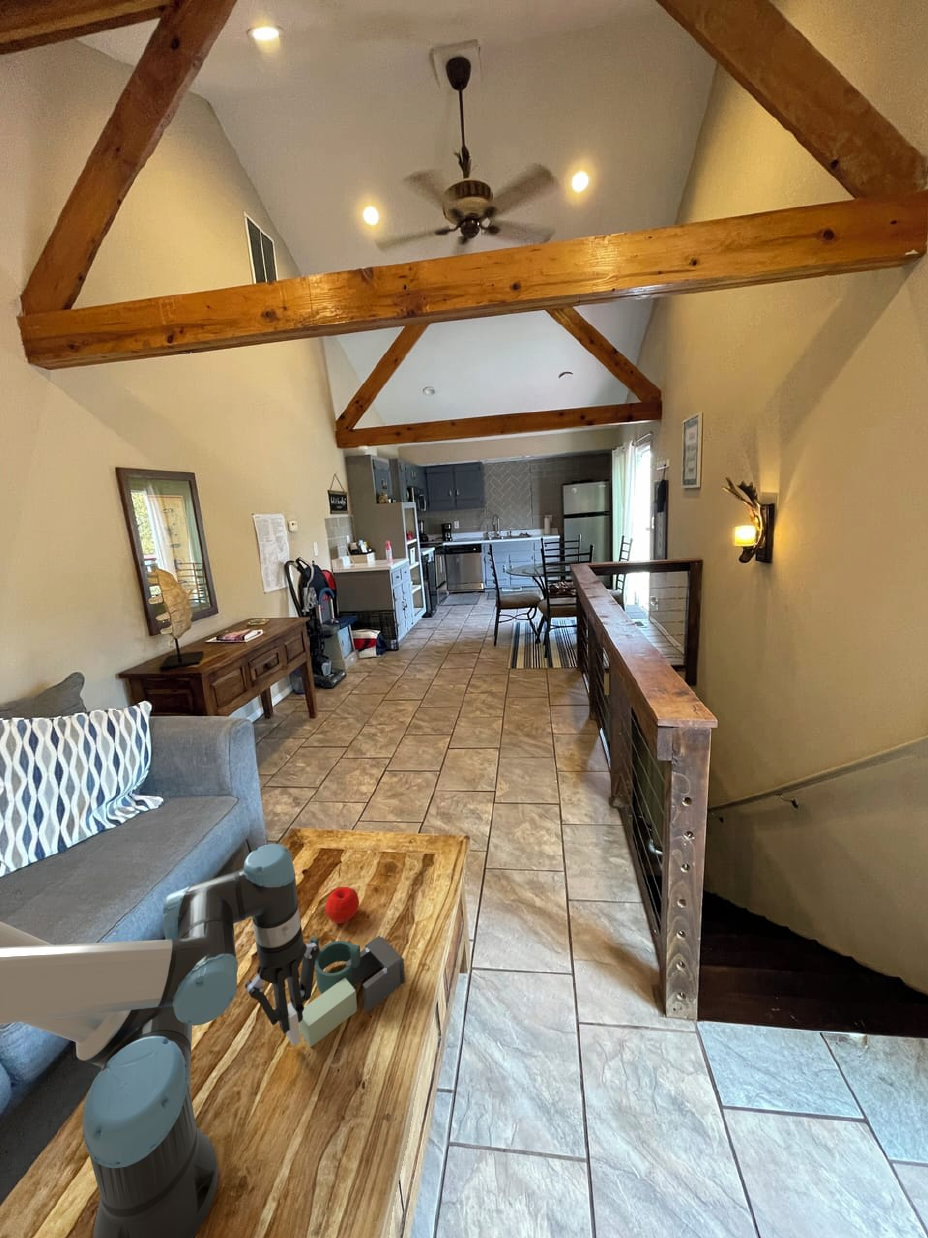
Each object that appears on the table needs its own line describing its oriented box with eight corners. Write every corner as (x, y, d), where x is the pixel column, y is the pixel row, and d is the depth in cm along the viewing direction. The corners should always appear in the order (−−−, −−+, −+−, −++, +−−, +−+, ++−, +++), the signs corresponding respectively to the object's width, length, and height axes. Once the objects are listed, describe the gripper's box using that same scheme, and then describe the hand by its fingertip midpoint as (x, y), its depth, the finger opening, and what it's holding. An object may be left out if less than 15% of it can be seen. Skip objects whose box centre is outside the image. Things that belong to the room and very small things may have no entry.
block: (310, 1048, 93) (308, 1026, 92) (300, 1032, 96) (298, 1011, 95) (357, 1011, 100) (355, 990, 99) (346, 997, 103) (344, 977, 102)
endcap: (367, 1012, 99) (365, 985, 98) (346, 986, 105) (344, 959, 104) (405, 982, 106) (403, 956, 104) (383, 958, 111) (381, 933, 110)
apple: (344, 937, 117) (341, 910, 115) (319, 924, 121) (316, 897, 119) (366, 913, 124) (364, 887, 122) (342, 901, 128) (340, 876, 126)
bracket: (364, 984, 105) (361, 948, 103) (319, 1004, 101) (316, 967, 99) (352, 951, 112) (349, 917, 111) (310, 969, 108) (306, 934, 106)
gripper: (249, 969, 80) (267, 1083, 86) (323, 922, 89) (335, 1028, 94) (232, 941, 86) (250, 1050, 91) (303, 899, 94) (316, 1000, 100)
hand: (293, 1038), depth 93 cm, fingers closed
